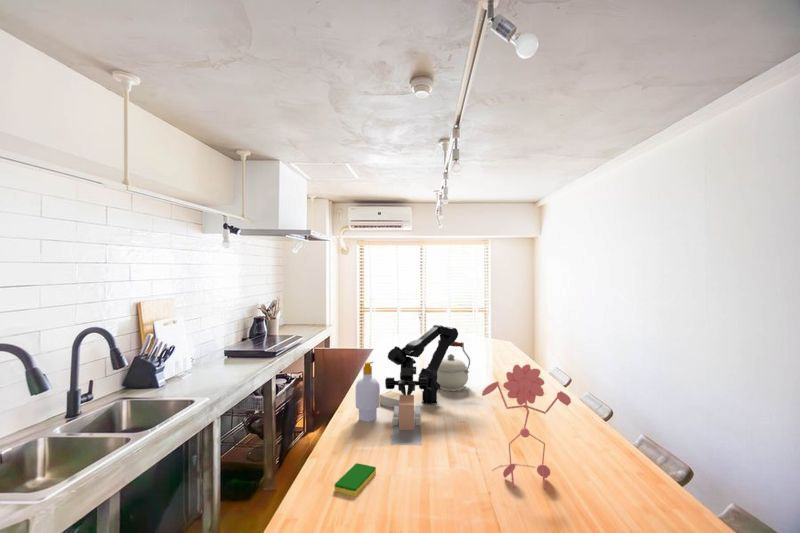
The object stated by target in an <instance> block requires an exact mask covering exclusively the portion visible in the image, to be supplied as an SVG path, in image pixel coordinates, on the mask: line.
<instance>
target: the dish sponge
mask: <svg viewBox="0 0 800 533" xmlns="http://www.w3.org/2000/svg"><path fill="white" fill-rule="evenodd" d="M376 473H377V469H376V466H373V465H367V464H362V463H359V462H358V463H355V464H354V465H353V466H351V467H350V469H349V470H347V472H345V473H344V474H343V475H342V476H341V477H340V478H339V479H338V481H336V482H335V483H334V492H335V493H339V494H344V495H349V496H352V497H356V496H358V494H359V493H360V492H361V491H362V490H363V489H364V488H365V487H366V485H367V484H368V483H369V482H370V481H371V479H373V477H375V475H376Z"/></svg>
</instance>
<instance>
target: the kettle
mask: <svg viewBox="0 0 800 533" xmlns="http://www.w3.org/2000/svg"><path fill="white" fill-rule="evenodd" d="M439 343H440V339H438V341H437V346H438V345H439ZM464 344H465V343H464V342H463V341H461V342H458V341H455V342H453V343H452V344H451V345H450V346H449V347H460V348H462V352H463V353H464V355H465V357H467V360H468V365H467V366H466V364H465V363H464V361H463V360H461V359H459V358H456V357H455V355H454V354H452V353H450V354H448V355H447V358H445V357H444V358H443V360H442V362H441V364H440V366H439V368H438V371H437V377H438V378H437V382H438V383H439V384H440V390H443V391H445V392H446V391H447V392H457V391H458V392H459V391H462V390H464V388H465V386H466V384H467V382H468V380H469V373H470V371H469V369H470V366H471V358H470V357H469V355H468V353H467V352H466V350H465V345H464ZM434 353H435V351H433V353H432V355H431V356H432V357H433V355H434ZM432 357H431V358H432ZM429 364H430V363H427V365H428V366H429ZM428 366H427V367H428Z"/></svg>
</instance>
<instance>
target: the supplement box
mask: <svg viewBox="0 0 800 533" xmlns="http://www.w3.org/2000/svg"><path fill="white" fill-rule="evenodd" d="M400 395H403V394H402V393H400V392H396V391H392V390H390V391H387V392H385V393H382V394H380V406H383V407H389V408H393V409H394V406H399V398H400Z"/></svg>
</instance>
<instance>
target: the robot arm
mask: <svg viewBox="0 0 800 533" xmlns="http://www.w3.org/2000/svg"><path fill="white" fill-rule="evenodd" d="M458 336H459V332H458V329H457V328H456V327H451V326H444V325H440V324H434V325H433V326H432V327H431V328H430V329H429V330H428V331H426V332H425V333H424V334H423V335H422V336H420V337H419V338H417V339H414V340H411V341H410V342H407V344H405V346H403V347H402V348H400V347H399V346H394V347H393V349H391V350H390V351H389V352H388V353H387V359H388V360H389V361H391V362H392V363H394V364H395V365H397V366H400V373H399V380H395V377H386V378H385V379H384V380H385V381H384V382H385V389H386V390H393V389H395V386H397V387H398V391H400V392H401V394H403V395H412V393H413V392H414V391H416V386H418V389H419V390H422V391H421V393H422V394H421V397H422V402H423V404H435V405H436V404H438V398H437V397H438V395H437V394H438V391H440V390H441V389H440V384H439V383H438V382H437V378H438V377H437V371H438V368H439V366H440V364H441V362H442V360H443V359H445V356H446V353H447V352H448V349H449V347H451V346H450V345H451V344H452V343H453V342H456V340H457V338H458ZM438 337H439V340H440V343H439V345H438V344H437V347H436V349H435V350H434V352H435V353H434V352H433V353H434V355H433V354H432V356H433V357H431V360H430V362H429V363H428V364H429V366H427V367H425V368H424V367H423V368H421V370H420V373H419V374H418V379H417V380H414V375H417V366H414V365H415V364H417V361H416V360H415V359H414V358H419V357H420V356H421V355H422V354H423V353H424V351H425V348H426V347H427V346H428V345H429V344H430V343H432V342H433V341H434V340H435V339H436V338H438ZM406 386H407V391H406Z"/></svg>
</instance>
